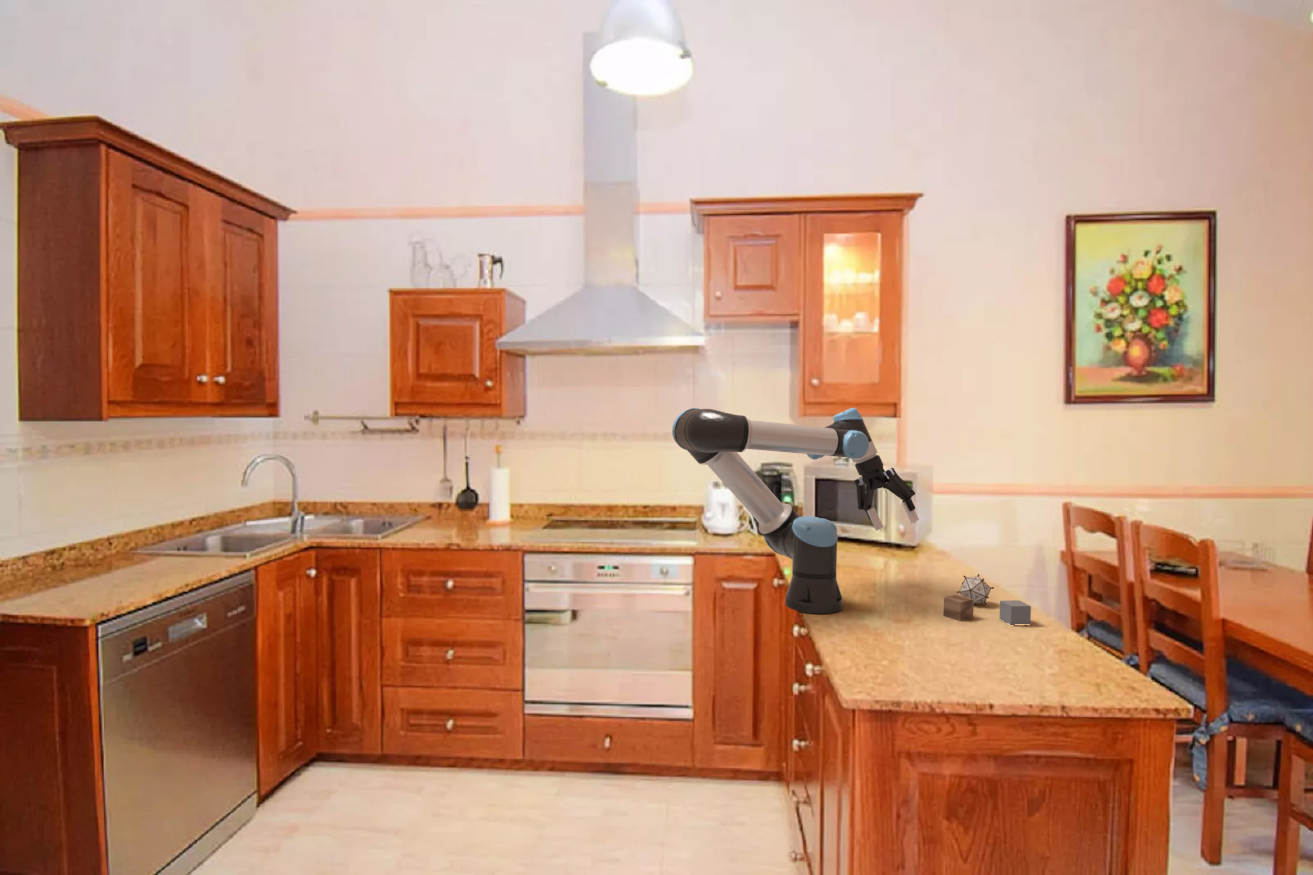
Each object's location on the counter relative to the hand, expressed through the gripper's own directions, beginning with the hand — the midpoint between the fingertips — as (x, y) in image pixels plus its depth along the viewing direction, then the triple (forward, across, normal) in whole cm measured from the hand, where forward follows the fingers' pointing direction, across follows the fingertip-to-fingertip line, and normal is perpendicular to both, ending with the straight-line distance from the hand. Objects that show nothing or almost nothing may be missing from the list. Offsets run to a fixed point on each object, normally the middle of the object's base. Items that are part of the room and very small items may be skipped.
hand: (897, 525), depth 198 cm
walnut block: (+23, -18, +13) cm, 32 cm away
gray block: (+29, -27, +6) cm, 40 cm away
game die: (+26, -13, -1) cm, 29 cm away
